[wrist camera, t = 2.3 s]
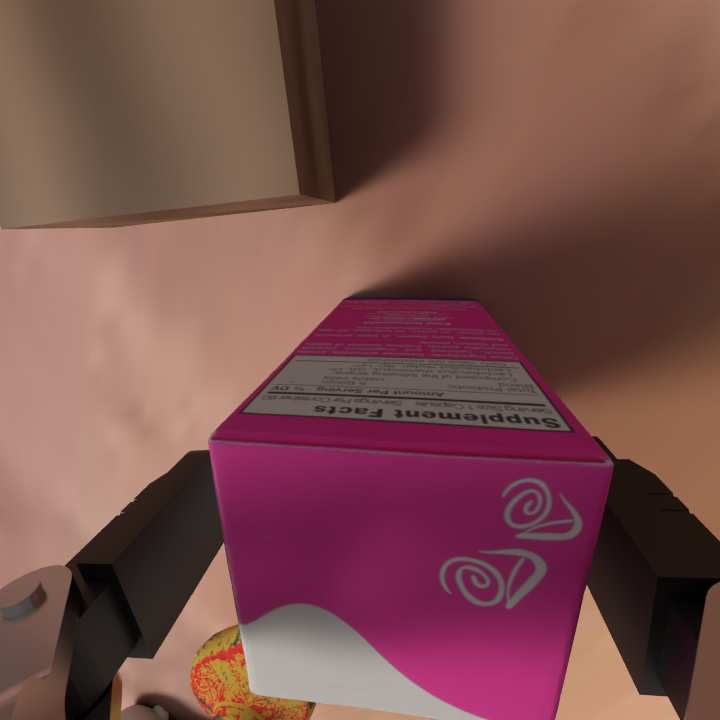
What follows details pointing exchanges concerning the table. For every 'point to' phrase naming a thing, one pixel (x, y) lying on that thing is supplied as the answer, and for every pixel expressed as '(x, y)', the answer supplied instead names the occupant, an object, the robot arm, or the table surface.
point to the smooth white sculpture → (144, 713)
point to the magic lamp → (236, 684)
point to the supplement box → (409, 517)
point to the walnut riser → (159, 111)
